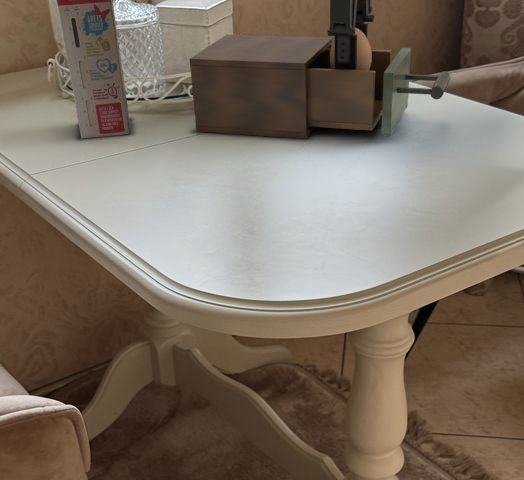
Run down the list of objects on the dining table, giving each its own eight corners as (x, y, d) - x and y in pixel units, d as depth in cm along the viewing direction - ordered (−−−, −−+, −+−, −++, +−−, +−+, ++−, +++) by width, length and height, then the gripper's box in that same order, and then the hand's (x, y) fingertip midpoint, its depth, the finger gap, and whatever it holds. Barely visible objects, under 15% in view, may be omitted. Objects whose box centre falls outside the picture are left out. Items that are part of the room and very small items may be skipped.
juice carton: (129, 118, 114) (105, -51, 101) (130, 133, 108) (104, -44, 96) (82, 123, 113) (53, -48, 101) (81, 138, 108) (49, -40, 95)
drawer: (450, 108, 108) (455, 49, 104) (436, 138, 98) (441, 75, 94) (307, 100, 114) (306, 44, 110) (281, 129, 104) (279, 68, 100)
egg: (321, 85, 104) (321, 29, 100) (343, 75, 107) (344, 21, 104) (356, 91, 101) (358, 34, 97) (378, 81, 105) (380, 25, 101)
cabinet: (332, 107, 114) (332, 37, 108) (306, 138, 103) (305, 63, 98) (231, 101, 118) (226, 34, 113) (196, 131, 108) (189, 58, 102)
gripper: (341, -129, 99) (339, 62, 112) (300, -116, 85) (304, 100, 98) (400, -131, 97) (392, 64, 110) (368, -118, 83) (363, 103, 96)
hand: (350, 81), depth 104 cm, fingers closed on egg, 5 cm apart
